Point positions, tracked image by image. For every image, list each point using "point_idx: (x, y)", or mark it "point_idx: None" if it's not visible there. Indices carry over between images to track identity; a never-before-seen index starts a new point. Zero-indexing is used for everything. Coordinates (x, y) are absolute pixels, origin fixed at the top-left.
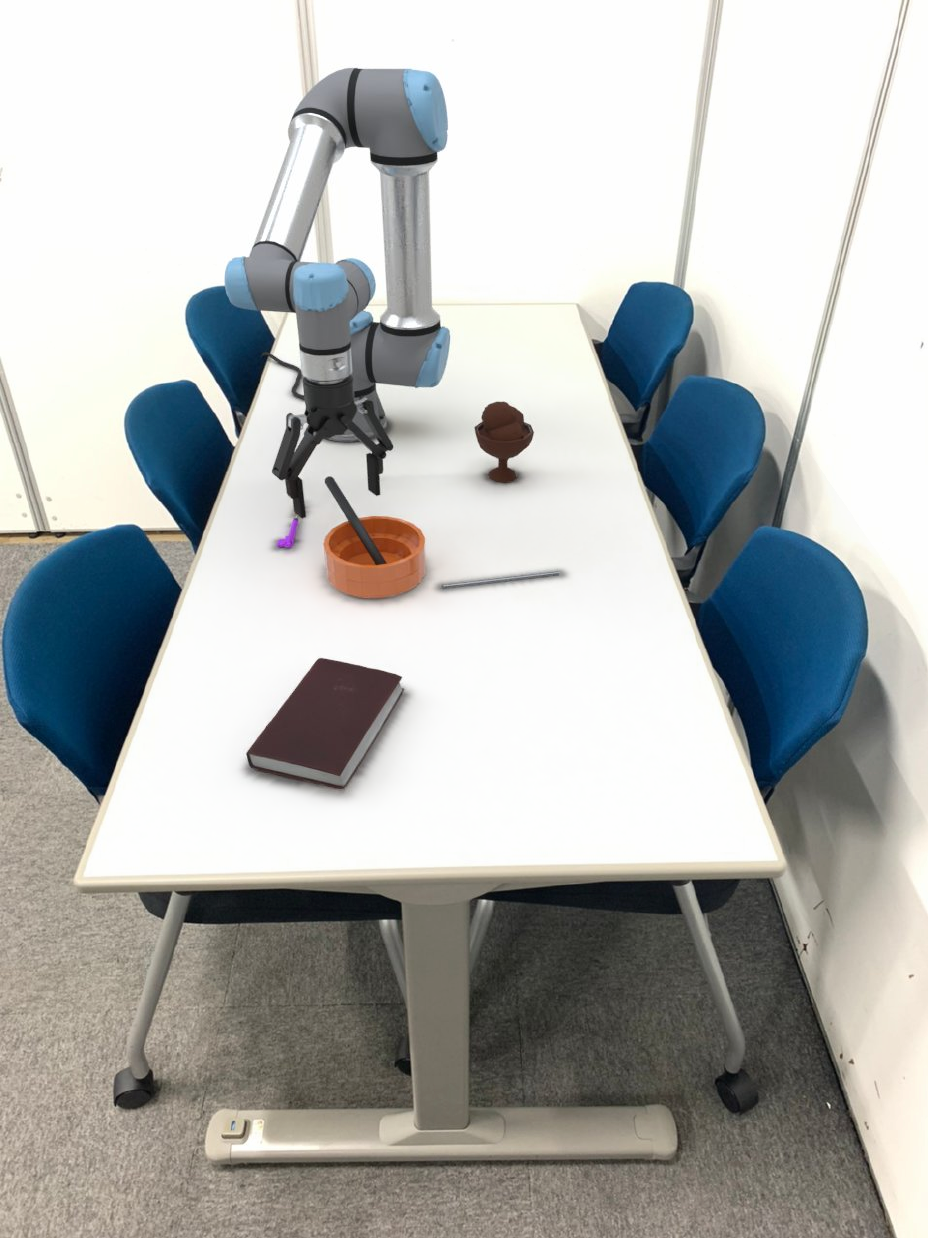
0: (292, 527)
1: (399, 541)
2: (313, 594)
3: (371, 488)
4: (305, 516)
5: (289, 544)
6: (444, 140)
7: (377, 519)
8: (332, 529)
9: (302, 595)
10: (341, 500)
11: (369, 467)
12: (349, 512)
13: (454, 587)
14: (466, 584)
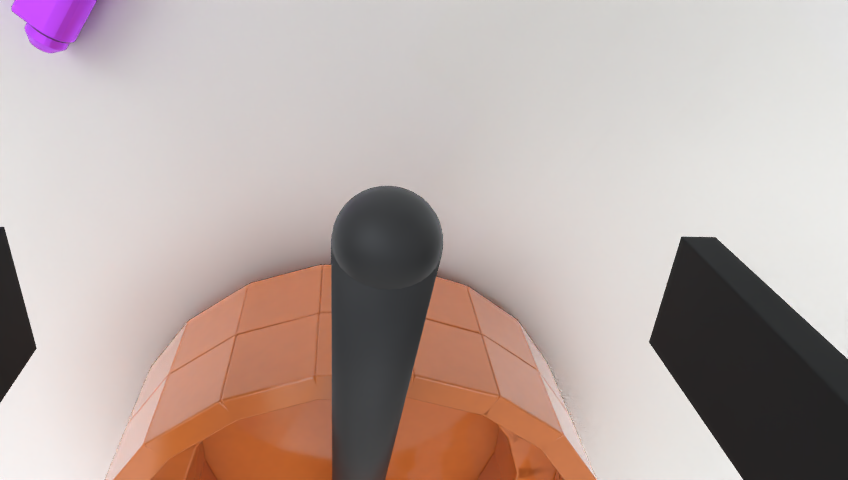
0: None
1: (513, 459)
2: (53, 426)
3: (681, 304)
4: (30, 350)
5: (44, 50)
6: None
7: (504, 426)
8: (213, 408)
9: (4, 412)
10: (352, 406)
11: (802, 425)
12: (352, 449)
13: None
14: None
